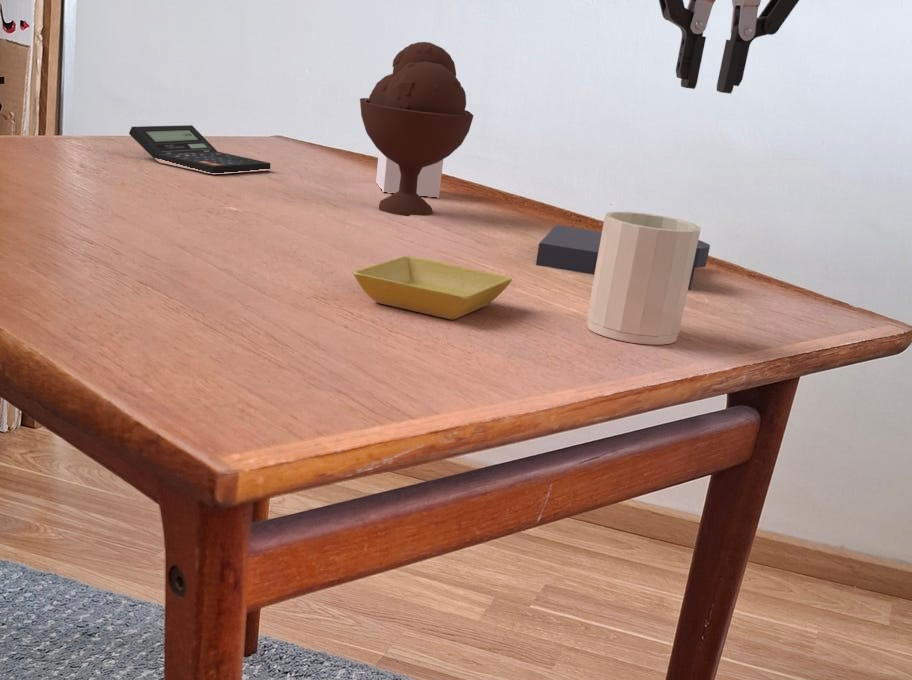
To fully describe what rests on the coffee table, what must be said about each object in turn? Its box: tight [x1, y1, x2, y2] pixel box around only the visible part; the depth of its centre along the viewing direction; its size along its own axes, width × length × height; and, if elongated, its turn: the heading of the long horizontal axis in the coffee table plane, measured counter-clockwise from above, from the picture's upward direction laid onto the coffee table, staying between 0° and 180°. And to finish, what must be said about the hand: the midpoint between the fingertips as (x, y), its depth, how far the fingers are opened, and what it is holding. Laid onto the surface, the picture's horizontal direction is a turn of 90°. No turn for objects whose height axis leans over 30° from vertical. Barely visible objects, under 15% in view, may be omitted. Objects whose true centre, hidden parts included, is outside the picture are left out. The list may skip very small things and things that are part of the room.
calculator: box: [128, 124, 271, 173], centre depth 132 cm, size 9×12×3 cm
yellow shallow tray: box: [352, 255, 513, 320], centre depth 86 cm, size 9×9×2 cm
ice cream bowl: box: [359, 41, 474, 217], centre depth 118 cm, size 11×11×15 cm
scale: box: [535, 224, 711, 291], centre depth 107 cm, size 14×12×4 cm
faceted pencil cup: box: [585, 211, 701, 346], centre depth 85 cm, size 6×6×8 cm
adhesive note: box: [375, 150, 444, 199], centre depth 132 cm, size 6×6×6 cm
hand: (706, 88), depth 97 cm, fingers closed
